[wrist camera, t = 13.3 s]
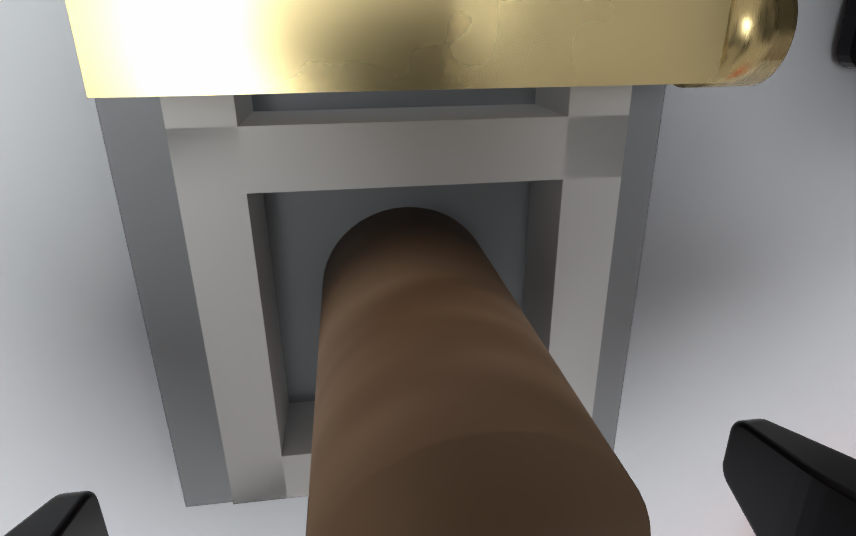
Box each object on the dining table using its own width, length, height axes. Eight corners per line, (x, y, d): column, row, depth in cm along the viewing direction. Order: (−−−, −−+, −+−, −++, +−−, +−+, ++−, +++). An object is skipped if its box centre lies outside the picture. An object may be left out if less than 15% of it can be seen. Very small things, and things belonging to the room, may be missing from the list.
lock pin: (729, -27, 10) (815, -39, 8) (710, 80, 11) (786, 91, 9) (114, -28, 9) (54, -44, 7) (138, 94, 10) (89, 109, 8)
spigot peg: (491, 202, 13) (676, 412, 6) (485, 352, 15) (627, 665, 8) (315, 211, 13) (283, 452, 5) (329, 365, 14) (318, 714, 7)
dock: (692, -298, 11) (809, -406, 8) (598, 437, 18) (645, 511, 15) (20, -342, 10) (-108, -492, 7) (194, 479, 16) (165, 571, 14)
